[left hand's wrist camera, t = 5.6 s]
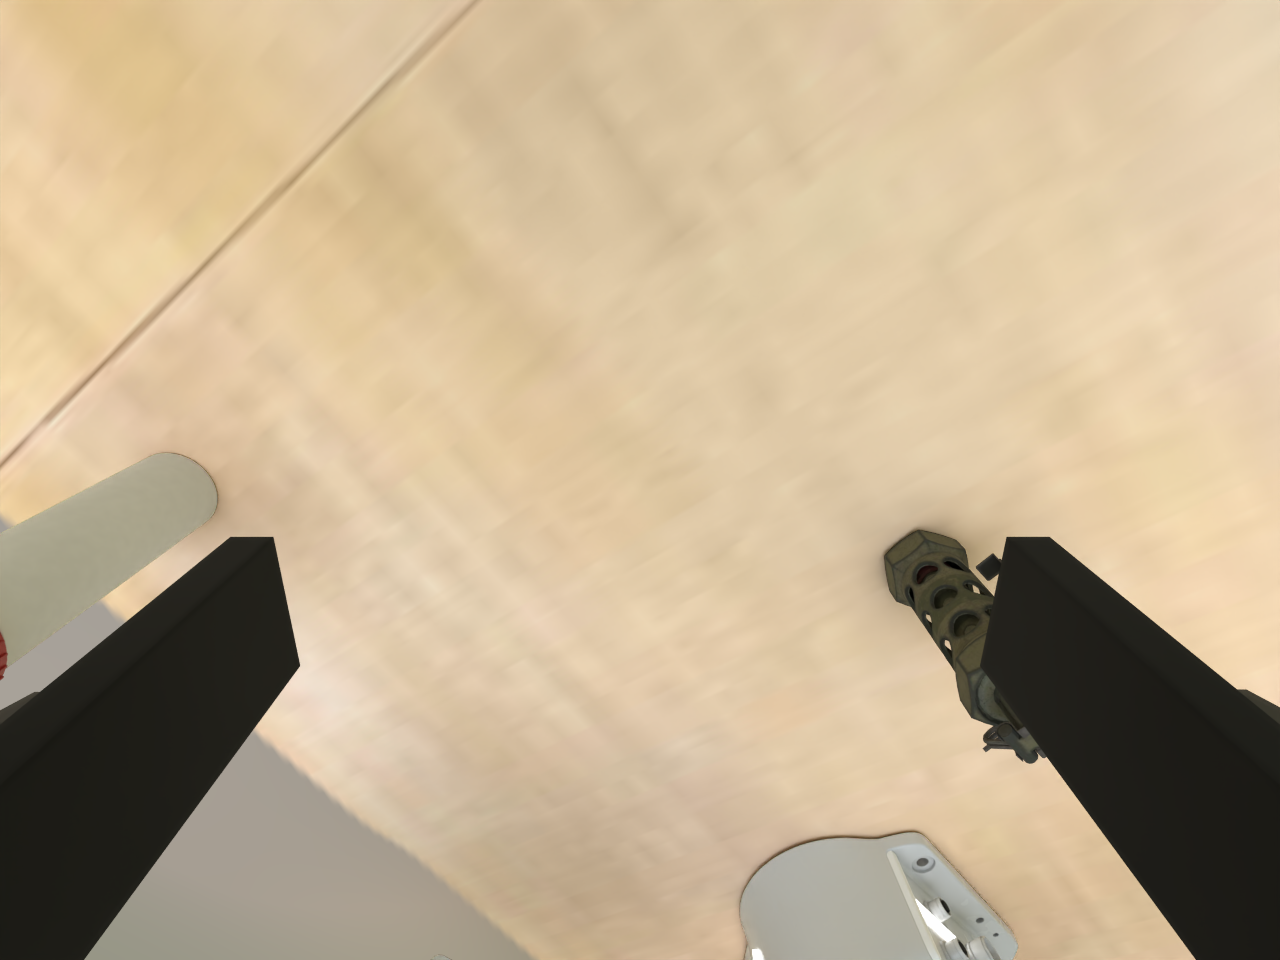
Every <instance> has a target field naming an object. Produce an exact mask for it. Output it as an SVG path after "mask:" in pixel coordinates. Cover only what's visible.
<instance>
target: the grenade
mask: <svg viewBox="0 0 1280 960" xmlns="http://www.w3.org/2000/svg"><path fill="white" fill-rule="evenodd" d="M1001 562H1002V560H1001V559H998V558H997V557H996V556H995V555H994V554H991V555H990V556H989V557H987V558H986V559H985V560H984V561H982V562H981V563H980V564H979V565H977V566H976V569H977V570H978V571H979V572H980V573H981V574H982V575H983V576H984V577H985V578H986V580H987V581H990V580H991V579H992V578H994V577H995V576H996V575H998V574H999V571H1000V567H1001ZM885 568H886V575H887V581H888V586H889V590H890V592H891V594H892V595H893V597H894V599H895V600H896V601H897V602H899V603H902V604H904V605H907V606H910V607H912V609H913V610H914V611H915V613H916V615H917V616H918V618H919V619H920V621H921V622H922V623H923V625H924V626H925V628H926V629H927V631H928V632H929V634H930V635H931V637H932V638H933V640H934V641H935V643H936V644H937V646H938V647H939V649H940V650H941V652H942V653H943V654H944V656H945V657H946V659H947V661H948V662H949V663H950V665H951V666H952V668H953V670H954V671H955V673H956V681H957V688H958V692H959V697H960V701H961V702H962V704H963V706H964V707H965V709H966V710H967V712H968V713H969V715H970V716H971V718H973V719H976V720H978V721H981V722H983V723H986V724H990V725H993V727H992V728H990V729H989V730H988V731H987V732H986V733H985V734H984V736H983V741H984V742H985V743H987V746H985V747H984V748H983V749H984V751H985V752H987V751H988V750H990V749H991V748H993V749H1013V750H1014V751H1015V753H1016V756H1017V757H1018V758H1019V759H1021V760H1022V761H1023V760H1024V761H1025V762H1026V763H1029V764H1031V763H1034V762H1035V761H1036V760H1037V759H1038V754H1039V755H1040V756H1041V757H1042V758H1046V757H1047V756H1046V755H1045V754H1044V752H1043V751H1042V750H1041V748H1040V747H1039V746H1038V744H1037V743H1036V742H1035V740H1034V739H1033V737H1032V736H1031V735H1030V733H1029V732H1028V731H1027V729H1026V728H1025V727H1024V725H1023V724H1022V722H1021V721H1020V720H1019V718H1018V717H1017V716H1016V714H1015V713H1014V712H1013V710H1012V709H1011V708H1010V706H1009V705H1008V703H1007V702H1006V701H1005V699H1004V698H1003V697H1002V695H1001V694H1000V693H999V691H998V690H997V688H996V687H995V686H994V684H993V683H992V682H991V680H990V679H989V678H988V676H987V675H986V674H985V672H984V671H983V669H982V668H981V667H980V663H981V658H982V653H983V648H984V643H985V639H986V634H987V629H988V624H989V619H990V615H991V610H992V605H993V600H994V596H993V595H992V594H991V593H990V592H989V590H988V589H987V588H986V587H985V586H984V585H983V584H982V583H981V582H980V580H979V579H978V578H977V577H976V576H975V575H974V574H973V573H972V572H971V570H970V569H969V567H968V560H967V555H966V550H965V549H964V548H963V547H962V546H961V544H960V543H959V542H958V541H957V540H955V539H952V538H949V537H946V536H943V535H939V534H936V533H932V532H927V531H921V530H917V531H915V532H914V533H912V534H910V535H908V536H907V537H906V538H904V539H903V540H901V541H900V542H899V543H898V544H896V545H895V546H894V547H893V548H892V549H891V550H890V551H889V552H888V553H887V554H886V555H885ZM973 585H974V586H976V587H977V588H978V589H979V591H980V594H978V593H974V592H973ZM926 614H927V615H930V616H931V621H932V623H931V622H930V621H928V620H927V619H926ZM945 640H948V641H949V642H950V645H951V650H952V651H951V650H950V649H949V648H947V647H946V646H945ZM994 732H995V733H994ZM997 737H998V738H997ZM995 738H996V739H995ZM1037 753H1038V754H1037Z"/></svg>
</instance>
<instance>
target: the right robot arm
mask: <svg viewBox="0 0 1280 960" xmlns="http://www.w3.org/2000/svg"><path fill="white" fill-rule="evenodd" d="M740 920H741V924H742V927H743V930H744V933H745V936H746V939H747V943H748V945H747V948H746V953H745V959H744V960H1013V958H1014V956H1015V954H1016V952H1017V949H1018V944H1017V941H1016V938H1015V936H1014V934H1013V932H1012V931H1011V929H1010V928H1009V927H1008V926H1007V925H1006V924H1005V923H1004V922H1003V921H1002V919H1001V918H1000V917H999V916H998V915H997V914H996V913H995V912H994V911H993V910H992V909H991V908H990V906H989V905H988V904H987V903H986V902H985V901H984V900H983V899H982V898H981V897H980V896H979V895H978V893H977V892H976V891H975V890H974V889H973V888H972V887H971V886H970V885H969V884H968V883H967V881H966V880H965V879H964V878H963V877H962V876H961V875H960V874H959V873H958V872H957V871H956V870H955V868H954V867H953V866H952V865H951V864H950V863H949V862H948V861H947V860H946V859H945V858H944V857H943V855H942V854H941V853H940V852H939V851H938V850H937V849H936V848H935V847H934V846H933V845H932V843H931V842H930V841H929V840H928V839H927V838H926V837H925V836H924V835H922V834H920V833H916V832H908V833H901V834H896V835H892V836H888V837H884V838H880V839H859V838H831V839H823V840H818V841H813V842H809V843H806V844H803V845H799V846H797V847H794V848H792V849H790V850H787V851H785V852H783V853H782V854H780V855H778V856H776V857H775V858H773V859H772V860H770V861H769V862H768V863H766V864H765V865H764V866H763V867H762V868H761V869H760V870H759V871H758V872H757V873H756V874H755V875H754V876H753V877H752V879H751V880H750V881H749V883H748V885H747V886H746V888H745V890H744V893H743V895H742V899H741V903H740ZM431 960H451V959H450V958H448V957H446V956H444V955H436V956H434V957H433V958H432V959H431Z"/></svg>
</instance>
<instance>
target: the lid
mask: <svg viewBox="0 0 1280 960" xmlns="http://www.w3.org/2000/svg"><path fill="white" fill-rule="evenodd" d="M7 655H8V653H7V649H6V644H5V640H4V638H3V636H2V634H1V632H0V680H1V679H2V678H3V677H4V676H2V675H3V674H4V671H5V669H6V668H7V666H8V665H7Z"/></svg>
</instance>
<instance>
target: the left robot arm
mask: <svg viewBox="0 0 1280 960" xmlns="http://www.w3.org/2000/svg"><path fill="white" fill-rule="evenodd" d="M299 667H300V663H299V658H298V653H297V648H296V643H295V639H294V634H293V629H292V624H291V619H290V615H289V610H288V605H287V600H286V595H285V591H284V586H283V581H282V576H281V571H280V567H279V562H278V557H277V552H276V547H275V543H274V538H273V537H230V538H229V539H227V540H226V541H225V542H224V543H223V544H221V545H220V546H219V547H218V548H216V549H215V550H214V551H213V552H211V553H210V554H209V555H208V556H207V557H205V558H204V559H203V560H202V561H200V562H199V563H198V564H197V565H195V566H194V567H193V568H192V569H191V570H189V571H188V572H187V573H186V574H184V575H183V576H182V577H181V578H180V579H178V580H177V581H176V582H175V583H173V584H172V585H171V586H170V587H168V588H167V589H166V590H165V591H164V592H162V593H161V594H160V595H159V596H157V597H156V598H155V599H154V600H152V601H151V602H150V603H149V604H148V605H146V606H145V607H144V608H143V609H141V610H140V611H139V612H138V613H136V614H135V615H134V616H133V617H132V618H130V619H129V620H128V621H127V622H125V623H124V624H123V625H122V626H121V627H119V628H118V629H117V630H116V631H114V632H113V633H112V634H111V635H109V636H108V637H107V638H106V639H105V640H103V641H102V642H101V643H100V644H98V645H97V646H96V647H95V648H93V649H92V650H91V651H90V652H89V653H87V654H86V655H85V656H84V657H83V658H81V659H80V660H79V661H78V662H76V663H75V664H74V665H73V666H71V667H70V668H69V669H68V670H66V671H65V672H64V673H63V674H62V675H60V676H59V677H58V678H57V679H55V680H54V681H53V682H52V683H51V684H49V685H48V686H47V687H46V688H44V689H43V690H42V691H41V692H34V693H32V694H30V695H28V696H26V697H24V698H22V699H21V700H19V701H17V702H15V703H13V704H11V705H9V706H8V707H6V708H4V709H2V710H0V960H84V959H85V958H86V956H87V955H88V954H89V952H90V951H91V949H92V948H93V947H94V945H95V944H96V943H97V941H98V940H99V939H100V937H101V936H102V935H103V933H104V932H105V930H106V929H107V928H108V926H109V925H110V924H111V922H112V921H113V920H114V918H115V917H116V916H117V914H118V913H119V911H120V910H121V909H122V907H123V906H124V905H125V903H126V902H127V900H128V899H129V898H130V896H131V895H132V894H133V892H134V891H135V890H136V888H137V887H138V886H139V884H140V883H141V881H142V880H143V879H144V877H145V876H146V875H147V873H148V872H149V871H150V869H151V868H152V867H153V865H154V864H155V862H156V861H157V860H158V858H159V857H160V856H161V854H162V853H163V852H164V850H165V849H166V847H167V846H168V845H169V843H170V842H171V841H172V839H173V838H174V837H175V835H176V834H177V833H178V831H179V830H180V828H181V827H182V826H183V824H184V823H185V822H186V820H187V819H188V818H189V816H190V815H191V814H192V812H193V811H194V809H195V808H196V807H197V805H198V804H199V803H200V801H201V800H202V799H203V797H204V796H205V794H206V793H207V792H208V790H209V789H210V788H211V786H212V785H213V784H214V782H215V781H216V779H217V778H218V777H219V775H220V774H221V773H222V771H223V770H224V769H225V767H226V766H227V765H228V763H229V762H230V761H231V759H232V758H233V756H234V755H235V754H236V752H237V751H238V750H239V748H240V747H241V746H242V744H243V743H244V742H245V740H246V739H247V737H248V736H249V735H250V733H251V732H252V731H253V729H254V728H255V727H256V725H257V724H258V722H259V721H260V720H261V718H262V717H263V716H264V714H265V713H266V712H267V710H268V709H269V708H270V706H271V705H272V703H273V702H274V701H275V699H276V698H277V697H278V695H279V694H280V693H281V691H282V690H283V688H284V687H285V686H286V684H287V683H288V682H289V680H290V679H291V678H292V676H293V675H294V674H295V672H296V671H297V669H298V668H299ZM980 667H981V668H982V669H983V671H984V672H985V674H986V675H987V676H988V678H989V679H990V680H991V682H992V683H993V684H994V686H995V687H996V688H997V690H998V691H999V693H1000V694H1001V695H1002V697H1003V698H1004V699H1005V701H1006V702H1007V703H1008V705H1009V706H1010V708H1011V709H1012V710H1013V712H1014V713H1015V714H1016V716H1017V717H1018V718H1019V720H1020V721H1021V722H1022V724H1023V725H1024V727H1025V728H1026V729H1027V731H1028V732H1029V733H1030V735H1031V736H1032V737H1033V739H1034V740H1035V742H1036V743H1037V744H1038V746H1039V747H1040V748H1041V750H1042V751H1043V752H1044V754H1045V755H1046V756H1047V758H1048V759H1049V761H1050V762H1051V763H1052V765H1053V766H1054V767H1055V769H1056V770H1057V771H1058V773H1059V774H1060V775H1061V777H1062V778H1063V780H1064V781H1065V782H1066V784H1067V785H1068V786H1069V788H1070V789H1071V790H1072V792H1073V793H1074V795H1075V796H1076V797H1077V799H1078V800H1079V801H1080V803H1081V804H1082V805H1083V807H1084V808H1085V809H1086V811H1087V812H1088V814H1089V815H1090V816H1091V818H1092V819H1093V820H1094V822H1095V823H1096V824H1097V826H1098V827H1099V829H1100V830H1101V831H1102V833H1103V834H1104V835H1105V837H1106V838H1107V839H1108V841H1109V842H1110V843H1111V845H1112V846H1113V848H1114V849H1115V850H1116V852H1117V853H1118V854H1119V856H1120V857H1121V858H1122V860H1123V861H1124V862H1125V864H1126V865H1127V867H1128V868H1129V869H1130V871H1131V872H1132V873H1133V875H1134V876H1135V877H1136V879H1137V880H1138V882H1139V883H1140V884H1141V886H1142V887H1143V888H1144V890H1145V891H1146V892H1147V894H1148V895H1149V896H1150V898H1151V899H1152V901H1153V902H1154V903H1155V905H1156V906H1157V907H1158V909H1159V910H1160V911H1161V913H1162V914H1163V916H1164V917H1165V918H1166V920H1167V921H1168V922H1169V924H1170V925H1171V926H1172V928H1173V929H1174V930H1175V932H1176V933H1177V935H1178V936H1179V937H1180V939H1181V940H1182V941H1183V943H1184V944H1185V945H1186V947H1187V948H1188V950H1189V951H1190V952H1191V954H1192V955H1193V956H1194V958H1195V959H1196V960H1280V707H1278V706H1276V705H1274V704H1272V703H1271V702H1269V701H1267V700H1265V699H1263V698H1261V697H1259V696H1257V695H1256V694H1254V693H1252V692H1250V691H1248V690H1237V689H1236V688H1234V687H1233V686H1232V685H1231V684H1230V683H1228V682H1227V681H1226V680H1225V679H1223V678H1222V677H1221V676H1220V675H1218V674H1217V673H1216V672H1215V671H1214V670H1212V669H1211V668H1210V667H1209V666H1207V665H1206V664H1205V663H1204V662H1203V661H1201V660H1200V659H1199V658H1198V657H1196V656H1195V655H1194V654H1193V653H1191V652H1190V651H1189V650H1188V649H1187V648H1185V647H1184V646H1183V645H1182V644H1180V643H1179V642H1178V641H1177V640H1175V639H1174V638H1173V637H1172V636H1171V635H1169V634H1168V633H1167V632H1166V631H1164V630H1163V629H1162V628H1161V627H1159V626H1158V625H1157V624H1156V623H1155V622H1153V621H1152V620H1151V619H1150V618H1148V617H1147V616H1146V615H1145V614H1144V613H1142V612H1141V611H1140V610H1139V609H1137V608H1136V607H1135V606H1134V605H1132V604H1131V603H1130V602H1129V601H1128V600H1126V599H1125V598H1124V597H1123V596H1121V595H1120V594H1119V593H1118V592H1116V591H1115V590H1114V589H1113V588H1112V587H1110V586H1109V585H1108V584H1107V583H1105V582H1104V581H1103V580H1102V579H1100V578H1099V577H1098V576H1097V575H1096V574H1094V573H1093V572H1092V571H1091V570H1089V569H1088V568H1087V567H1086V566H1085V565H1083V564H1082V563H1081V562H1080V561H1078V560H1077V559H1076V558H1075V557H1073V556H1072V555H1071V554H1070V553H1069V552H1067V551H1066V550H1065V549H1064V548H1062V547H1061V546H1060V545H1059V544H1057V543H1056V542H1055V541H1054V540H1053V539H1051V538H1050V537H1007V538H1006V543H1005V547H1004V552H1003V557H1002V562H1001V567H1000V571H999V576H998V581H997V586H996V591H995V595H994V600H993V605H992V610H991V615H990V619H989V624H988V629H987V634H986V639H985V643H984V648H983V653H982V658H981V663H980Z"/></svg>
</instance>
